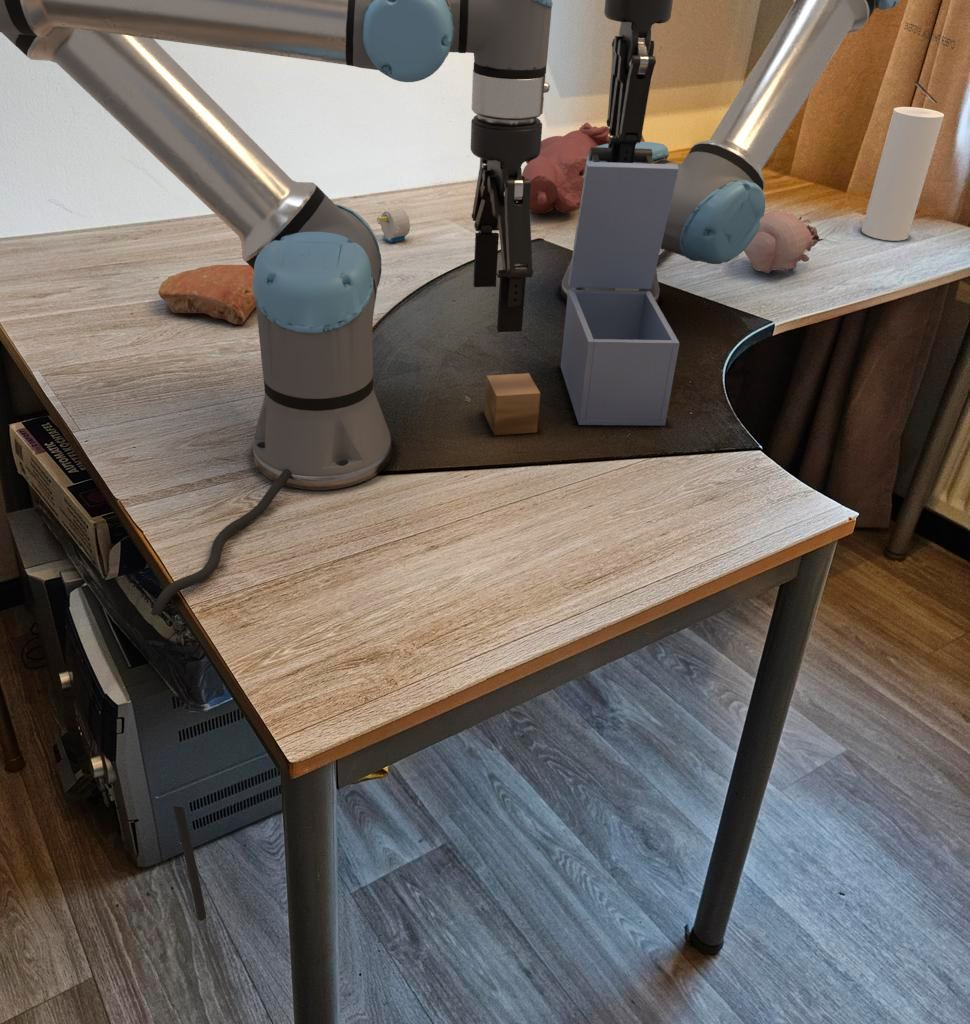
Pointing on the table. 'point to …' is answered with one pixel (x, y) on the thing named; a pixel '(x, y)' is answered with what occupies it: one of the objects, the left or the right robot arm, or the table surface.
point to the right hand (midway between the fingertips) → (615, 194)
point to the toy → (781, 242)
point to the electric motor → (394, 225)
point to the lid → (621, 221)
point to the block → (512, 404)
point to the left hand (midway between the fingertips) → (496, 307)
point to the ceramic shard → (212, 292)
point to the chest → (618, 357)
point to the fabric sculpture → (562, 169)
